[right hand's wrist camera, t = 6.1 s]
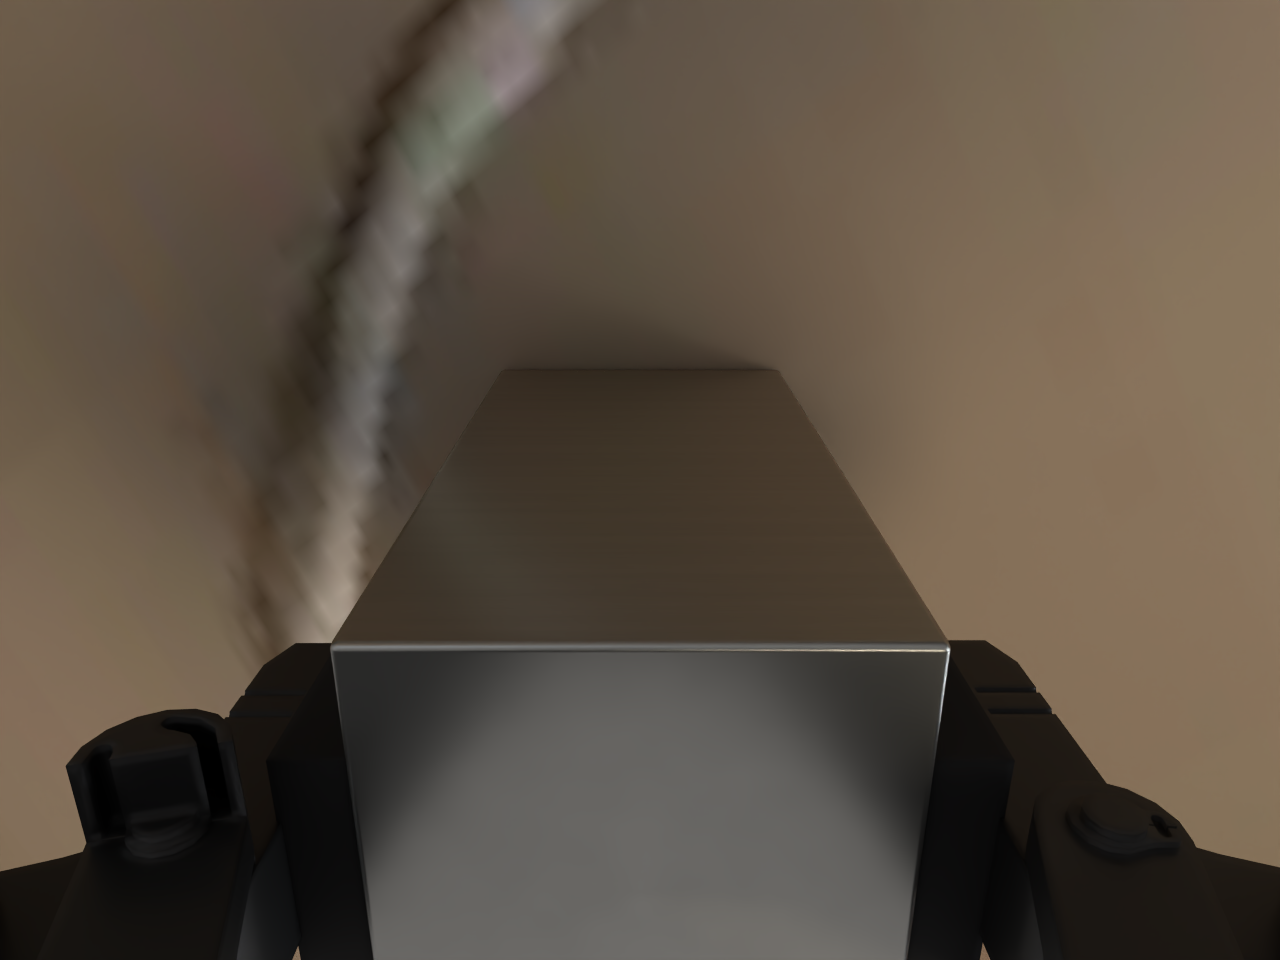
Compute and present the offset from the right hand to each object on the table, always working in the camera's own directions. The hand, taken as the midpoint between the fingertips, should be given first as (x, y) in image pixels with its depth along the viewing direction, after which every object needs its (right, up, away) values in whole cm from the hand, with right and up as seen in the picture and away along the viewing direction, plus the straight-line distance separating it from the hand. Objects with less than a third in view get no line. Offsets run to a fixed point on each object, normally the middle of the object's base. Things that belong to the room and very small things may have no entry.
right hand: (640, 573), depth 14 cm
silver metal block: (0, +1, +3) cm, 3 cm away
